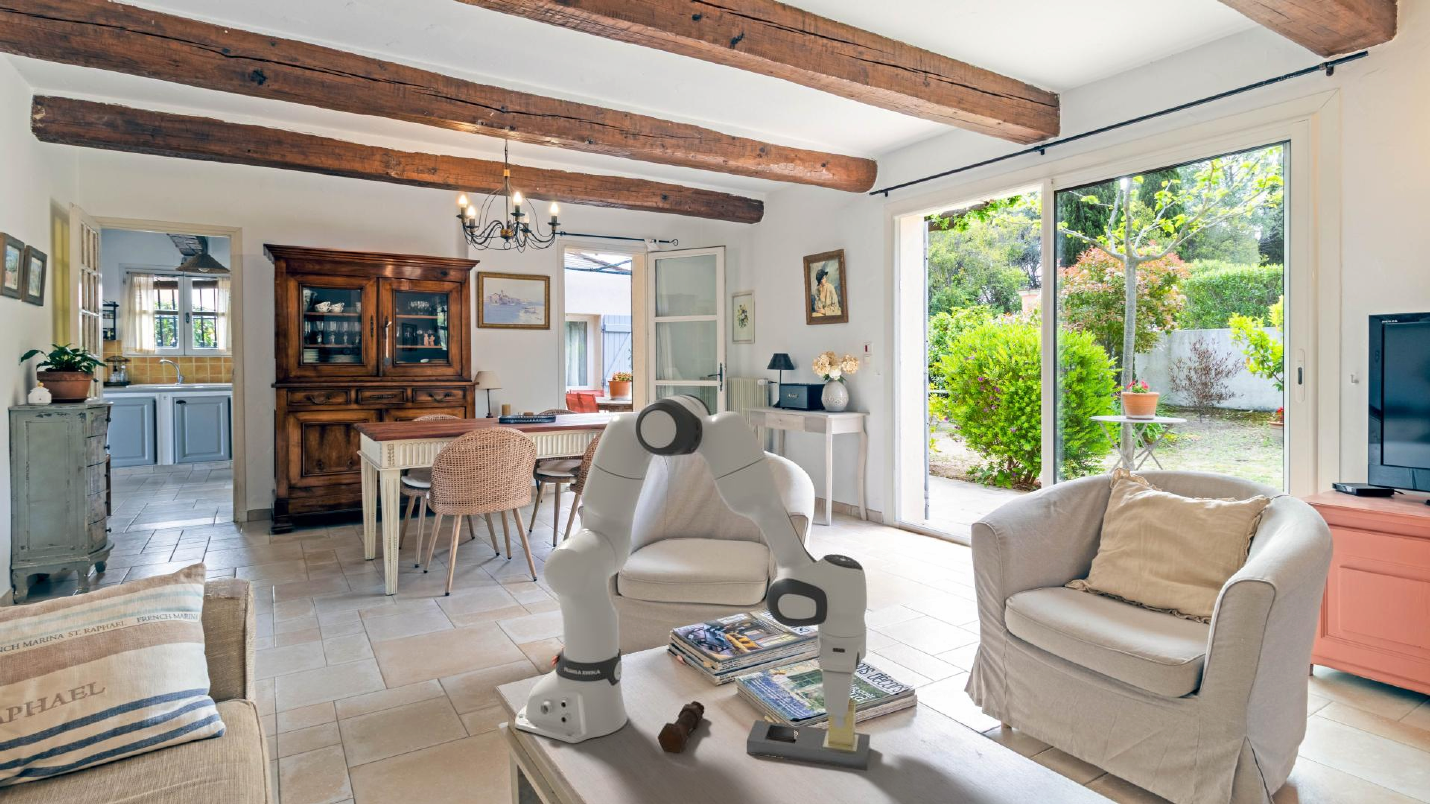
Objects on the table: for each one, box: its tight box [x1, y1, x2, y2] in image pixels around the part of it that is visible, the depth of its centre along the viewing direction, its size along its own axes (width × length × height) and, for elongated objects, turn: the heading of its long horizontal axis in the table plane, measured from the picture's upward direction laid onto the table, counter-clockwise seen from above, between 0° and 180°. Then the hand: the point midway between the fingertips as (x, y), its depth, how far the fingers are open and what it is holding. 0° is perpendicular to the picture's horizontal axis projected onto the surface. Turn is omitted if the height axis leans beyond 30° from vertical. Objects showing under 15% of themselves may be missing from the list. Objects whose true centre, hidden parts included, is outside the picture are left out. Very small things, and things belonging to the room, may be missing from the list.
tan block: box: [827, 698, 857, 749], centre depth 137 cm, size 4×4×7 cm
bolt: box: [657, 700, 706, 755], centre depth 145 cm, size 6×5×15 cm
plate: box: [746, 719, 871, 771], centre depth 139 cm, size 22×8×3 cm, turn 75°
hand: (840, 717), depth 137 cm, fingers open, 5 cm apart
